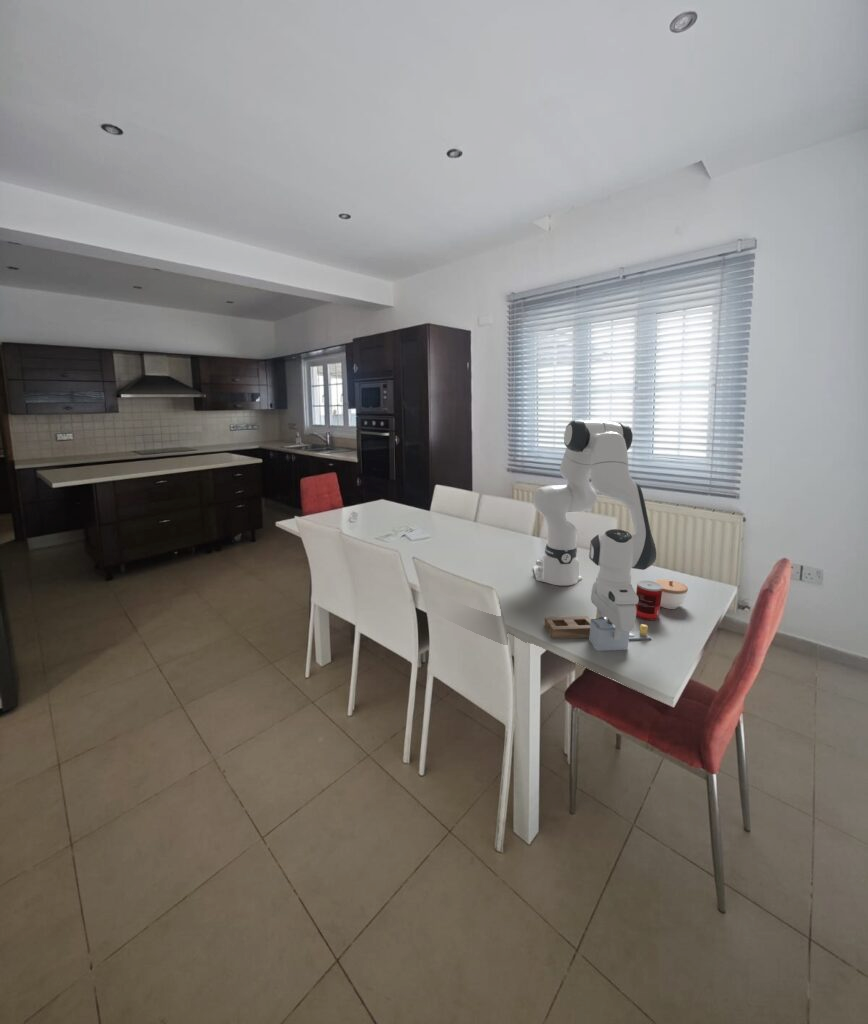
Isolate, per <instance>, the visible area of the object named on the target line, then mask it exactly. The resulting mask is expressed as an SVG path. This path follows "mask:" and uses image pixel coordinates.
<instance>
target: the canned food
mask: <svg viewBox="0 0 868 1024" xmlns="http://www.w3.org/2000/svg"><path fill="white" fill-rule="evenodd" d="M635 593H636V594H637V596H638V598H639V601H638V604H635V606H636V617H638V618H639V619H641V620H645V621H646V620H647V621H655V620H656V621H657V619H659V616H660V611H661V606H660V604H661V597H662V585H660V584H658V583H656V582H655V581H652V580H640V581H638V582H637V584H636V591H635Z"/></svg>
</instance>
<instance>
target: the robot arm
mask: <svg viewBox="0 0 868 1024" xmlns="http://www.w3.org/2000/svg"><path fill="white" fill-rule="evenodd" d="M633 438H634V435H633V431H632V429H631V427H630V426H629V425H627V424H625V423H621V422H618V423H617V422H612V421H607V420H583V419H575V420H572V421H570V422H569V423H568V424H567V425H566V427H565V430H564V434H563V442H564V446H565V448H566V449H565V451H564V454H563V456H562V459H561V463H560V466H559V473H560V475H561V477H562V478H563V479H564V480H565V481H567V482H566V483H565V484H556V485H555V484H554V485H551V484H549V485H545V486H542V487H538V488H537V489H535V491H534V492H533V496H532V504H533V506H534V509H535V510H536V511H537V512H538V513H540V514H541V515H542V516H543V518H544V520H545V522H546V526H547V542H546V546H545V548H544V549H545V550H544V552H543V554H542V555H540V556H539V558H538V559H537V560H536V562H535V563H536V564H535V565H534V566H532V571H533V573H534V577H535V580H536V581H538V582H544V583H547V584H550V585H554V586H572V585H575V584H577V583H578V582H579V581H581V580H582V579H583V577H582V576H581V574H580V560H579V559H578V558H577V553H578V548H577V535H578V529H577V527H576V525H574V524H573V523H572V522H571V521H568V520H567V517H566V515H567V513H581V512H585V511H589V510H592V509H593V508H594V507H595V505H596V504H597V500H598V496H597V491H598V493H600V494H602V495H604V496H606V497H608V498H611V499H612V500H615V501H618V502H620V503H621V504H623V505H625V506H626V508H627V509H628V510H629V515H630V519H631V525H632V529H633V535H632V534H631V533H630V532H628V531H626V530H623V529H619V528H615V529H608V530H606V531H605V532H604V533H601V534H596V535H595V536H594V537H593V538H592V539H591V540H590V544H589V545H590V546H589V555H588V557H589V559H590V561H592V563H594V564H595V565H596V566H598V567H599V570H598V574H597V577H596V578H595V582H593V584H592V589H591V594H590V601H591V603H592V604H593V605H594V606H595V607H596V612H597V613H598V619H604V618H608V619H609V620H610V621H611V622H612V624H613V625H614V626H615V629H616V630H615V632H613V635H612V637H613V638H614V639H615V640H620V639H621V634H622V633H623V632H627V631H630V632H633V630H634V628H635V624H636V619H637V616H636V606H635V604H638V601H639V598H638V596H637V594H636V591H635V590H634V588H633V584H632V583H631V582H632V575H631V570H632V569H635V570H640V571H641V570H642V571H644V570H646V569H648V568H650V567H651V566H652V565H653V564H654V563H655V562H656V560H657V549H656V544H655V541H654V537H653V535H652V531H651V526H650V521H649V516H648V512H647V511H648V510H647V507H646V501H645V498H644V493H643V491H642V488H641V486H640V485H639V484H638V483H637V482H635V481H634V480H633V478H632V476H631V474H630V470H629V469H630V468H629V455H628V454H629V453H628V451H629V450H630V448H631V446H632V444H633ZM590 480H591V484H590Z"/></svg>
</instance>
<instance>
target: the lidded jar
mask: <svg viewBox="0 0 868 1024" xmlns="http://www.w3.org/2000/svg"><path fill="white" fill-rule="evenodd" d="M654 582H656V583H658V584H660V585H662V597H661V604H660V608H661V607H662V608H664V609H668V610H676V609H678V608H679V607H680V606H682V605H683V604H684V603H685V601H686V598H687V594H688V589H689V588H688V586H687V585H686V584H685V583H683V582H680V581H676V580H672V579H656V580H655V581H654Z"/></svg>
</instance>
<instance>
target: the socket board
mask: <svg viewBox="0 0 868 1024" xmlns="http://www.w3.org/2000/svg"><path fill="white" fill-rule="evenodd" d="M591 619H592V618H590V617H589V616H588V615H581V616H580V615H578V616H557V617H556V616H552V617H551V616H548V617H544V624H543V625H544V628H545V630H546V631H547V633H548V634H549V635H550V637H551V638H552V639H553V640H554V639H571V638H575V639H576V638H589V635H590V623H591Z"/></svg>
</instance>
